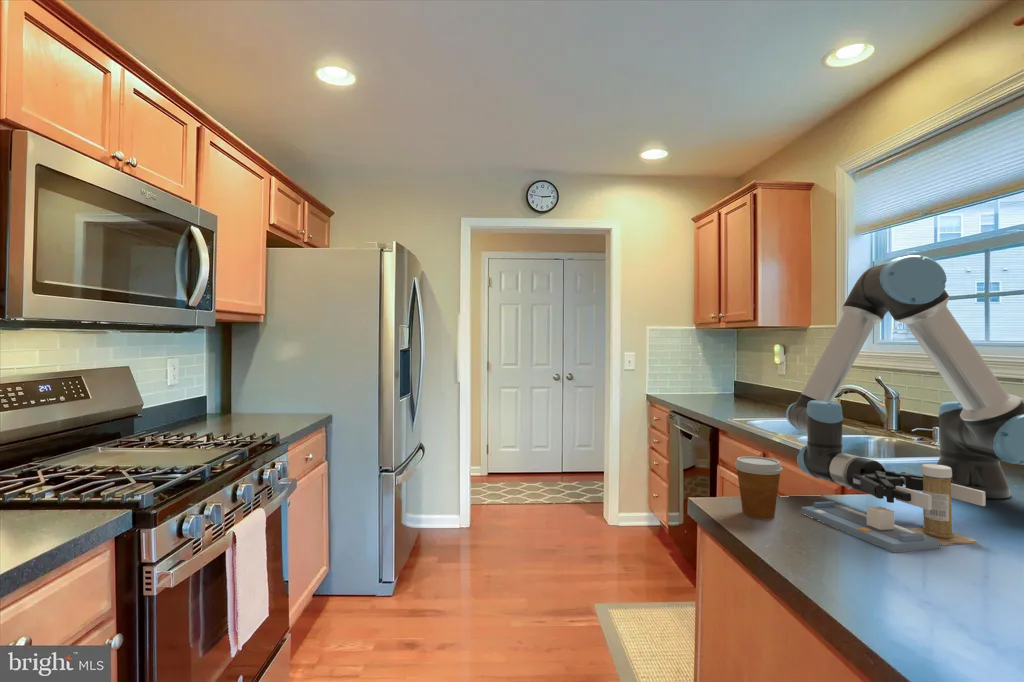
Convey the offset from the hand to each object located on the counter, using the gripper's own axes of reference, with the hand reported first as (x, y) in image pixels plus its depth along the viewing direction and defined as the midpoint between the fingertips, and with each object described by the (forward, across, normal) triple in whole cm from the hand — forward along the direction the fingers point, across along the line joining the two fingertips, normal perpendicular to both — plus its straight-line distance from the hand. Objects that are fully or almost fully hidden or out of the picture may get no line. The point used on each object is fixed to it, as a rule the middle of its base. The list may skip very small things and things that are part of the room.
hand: (957, 500), depth 96 cm
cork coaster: (-4, 0, -8) cm, 9 cm away
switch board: (-10, +11, -8) cm, 17 cm away
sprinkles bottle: (-4, 0, -8) cm, 9 cm away
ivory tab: (-6, +11, -6) cm, 14 cm away
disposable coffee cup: (-22, +26, -8) cm, 35 cm away
